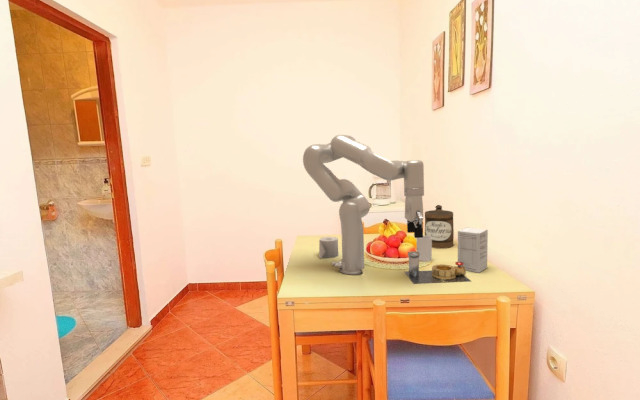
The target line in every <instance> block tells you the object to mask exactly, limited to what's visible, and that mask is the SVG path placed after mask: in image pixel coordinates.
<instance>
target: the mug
mask: <svg viewBox="0 0 640 400" xmlns="http://www.w3.org/2000/svg"><path fill="white" fill-rule="evenodd" d="M432 249H433V248H432V237H431V236H425V234H423V237H422V238H416V252H419V253H420V256H419V262H431V261H432V252H433V251H432Z"/></svg>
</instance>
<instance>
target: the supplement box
mask: <svg viewBox="0 0 640 400" xmlns="http://www.w3.org/2000/svg"><path fill="white" fill-rule="evenodd" d="M488 232H489V231H488V229H483V228H476V227H475V228H474V227H465V228H463V229H462V228H461V229H460V230H458V231H457V262H463V263H464V265H460V266H464V267H465V269H466V271H468V272H472V273H473V272H474V273H477V274H478V273H481V272H482V271H484V270H486V269H487V268H488V234H489V233H488Z"/></svg>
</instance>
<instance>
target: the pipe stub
mask: <svg viewBox="0 0 640 400" xmlns="http://www.w3.org/2000/svg"><path fill="white" fill-rule="evenodd" d="M419 256H420V253H419V252H417V251H414V250H413V251H412V250H411V251H408V252H407V257H408V272H409V275H410V276H419V271H420V261H419Z"/></svg>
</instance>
